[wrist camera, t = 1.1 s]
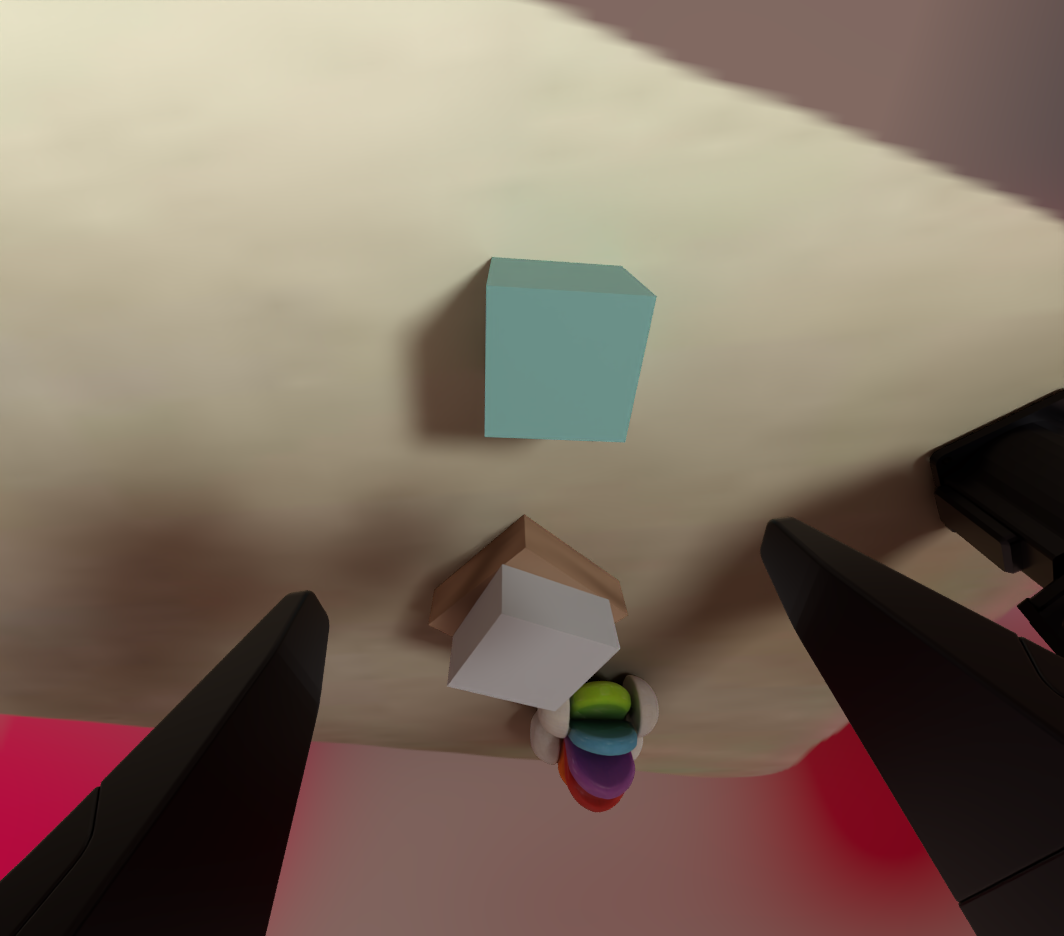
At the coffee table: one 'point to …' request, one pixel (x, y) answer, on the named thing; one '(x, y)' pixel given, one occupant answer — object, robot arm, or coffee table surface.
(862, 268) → the coffee table surface
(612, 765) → the rainbow segmented toy
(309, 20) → the coffee table surface
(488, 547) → the tower base
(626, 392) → the teal cube
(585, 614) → the tower mid
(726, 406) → the coffee table surface
